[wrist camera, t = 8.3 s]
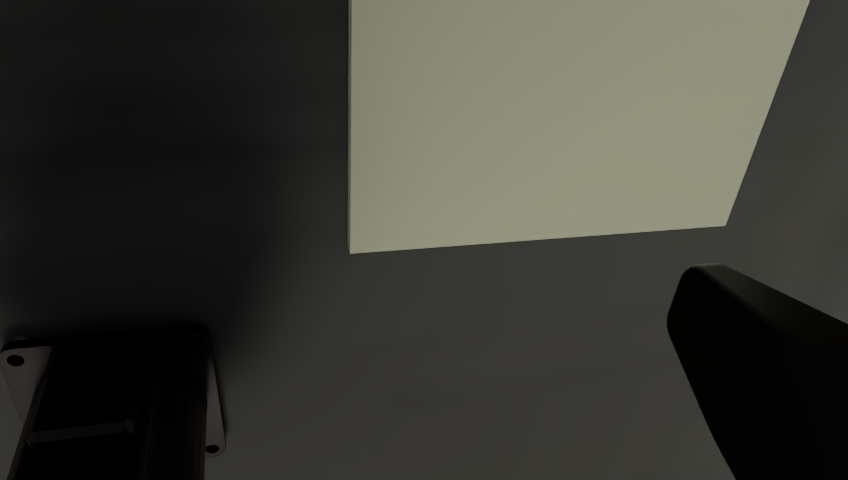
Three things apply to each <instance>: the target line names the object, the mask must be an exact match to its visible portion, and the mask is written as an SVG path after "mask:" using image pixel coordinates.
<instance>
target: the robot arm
mask: <svg viewBox="0 0 848 480" xmlns="http://www.w3.org/2000/svg"><path fill="white" fill-rule="evenodd" d="M667 329H668V333H669V336H670V339H671V341H672V343H673V346H674V348H675V350H676V353H677V355H678V357H679V360H680V362H681V364H682V367H683V369H684V372H685V374H686V376H687V379H688V381H689V383H690V386H691V388H692V390H693V393H694V395H695V397H696V400H697V402H698V404H699V407H700V409H701V411H702V414H703V416H704V418H705V421H706V423H707V425H708V427H709V429H710V432H711V434H712V436H713V438H714V440H715V442H716V444H717V446H718V448H719V450H720V452H721V453H722V455H723V457H724V459H725V461H726V463H727V465H728V466H729V468H730V470H731V472H732V474H733V475H734V477H735V479H736V480H848V324H846V323H844V322H842V321H840V320H838V319H836V318H834V317H832V316H830V315H828V314H826V313H823V312H821V311H819V310H817V309H815V308H813V307H811V306H809V305H807V304H805V303H803V302H800V301H798V300H796V299H794V298H792V297H790V296H788V295H786V294H784V293H782V292H779V291H777V290H775V289H773V288H771V287H769V286H767V285H765V284H763V283H761V282H759V281H756V280H754V279H752V278H750V277H748V276H746V275H744V274H742V273H740V272H738V271H735V270H733V269H731V268H729V267H727V266H725V265H722V264H718V263H711V264H699V265H692V266H689V267H687V268H686V269H685V270H684V271H683V273H682V275H681V277H680V280H679V283H678V286H677V289H676V292H675V295H674V297H673V300H672V303H671V306H670V309H669V312H668V315H667ZM190 338H199V339H200V340H197V341H193V340H190ZM12 355H19V356H21V357H22V358H16V357H14V356H12ZM0 368H1V370H2V373H3V375H4V378H5V381H6V383H7V386H8V388H9V391H10V393H11V396H12V398H13V401H14V404H15V406H16V409H17V411H18V414H19V416H20V419H21V421H22V424H23V429H22V433H21V436H20V439H19V442H18V445H17V448H16V451H15V455H14V458H13V461H12V464H11V467H10V470H9V474H8V477H7V480H204V471H205V459H206V458H214V457H218V456H220V455H222V454H223V453H224V452H225V449H226V436H225V429H224V422H223V416H222V409H221V402H220V395H219V388H218V381H217V375H216V368H215V361H214V354H213V347H212V340H211V334H210V331H209V329H207V328H206V327H205V326H202V325H199V324H191V325H180V326H169V327H158V328H147V329H136V330H125V331H115V332H104V333H93V334H82V335H71V336H60V337H49V338H39V339H28V340H17V341H11V342H8V343H6V344H5V345H4V346H3V347H2V349H1V352H0Z"/></svg>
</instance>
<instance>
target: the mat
mask: <svg viewBox="0 0 848 480" xmlns="http://www.w3.org/2000/svg"><path fill="white" fill-rule="evenodd" d="M809 1H810V0H349V56H348V247H349V251H350V254H353V253H366V252H379V251H393V250H406V249H420V248H433V247H447V246H460V245H473V244H487V243H500V242H514V241H527V240H541V239H554V238H568V237H581V236H594V235H608V234H621V233H635V232H648V231H662V230H675V229H688V228H702V227H715V226H725V225H726V223H727V220H728V217H729V215H730V212H731V209H732V207H733V204H734V201H735V199H736V196H737V193H738V191H739V188H740V185H741V183H742V180H743V177H744V175H745V172H746V169H747V167H748V164H749V161H750V158H751V156H752V153H753V150H754V148H755V145H756V142H757V140H758V137H759V134H760V132H761V129H762V126H763V124H764V121H765V118H766V116H767V113H768V110H769V108H770V105H771V102H772V100H773V97H774V94H775V92H776V89H777V86H778V84H779V81H780V78H781V76H782V73H783V70H784V68H785V65H786V62H787V60H788V57H789V54H790V52H791V49H792V46H793V44H794V41H795V38H796V36H797V33H798V30H799V28H800V25H801V22H802V20H803V17H804V14H805V12H806V9H807V6H808V4H809Z"/></svg>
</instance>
